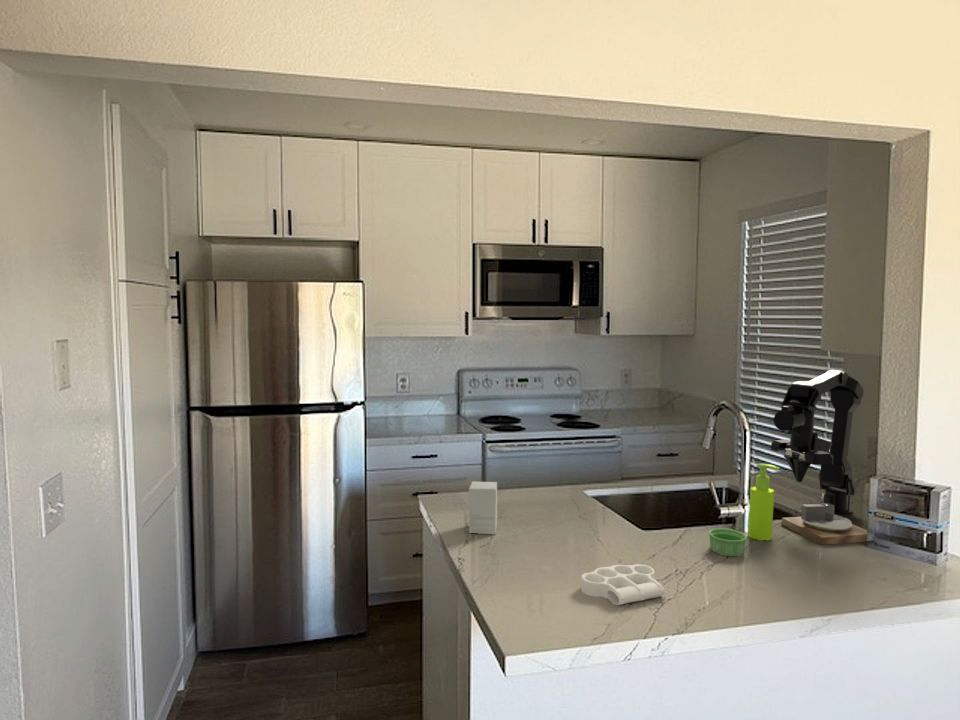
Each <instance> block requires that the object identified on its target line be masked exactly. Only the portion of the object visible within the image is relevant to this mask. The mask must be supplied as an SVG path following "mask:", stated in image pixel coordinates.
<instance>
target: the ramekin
mask: <svg viewBox="0 0 960 720" xmlns="http://www.w3.org/2000/svg"><path fill="white" fill-rule="evenodd" d="M708 536H709V545H710V550H711V551H712V552H713V551H714V552H713V553H715V552H716V553H715V554H717V553H718V555H720V554H722V555H721V556H724V555H728V556H727V557H739V555H740V556H742V555H744V552H745V546H746V542H747V539H748V537H747V535H746V534H745V533H744V532H741V531H739V530H736V529H729V528H723V527H722V528H713V529H711V530H709V531H708Z"/></svg>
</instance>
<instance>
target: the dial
mask: <svg viewBox="0 0 960 720" xmlns="http://www.w3.org/2000/svg"><path fill="white" fill-rule="evenodd" d="M800 517H801V519H803V523H804V524H805V525H807V526H809V527H812V528H815V529H819V530H824V531H831V532H846V531H849V530H851V527H852V524H853V523H852V520H850V519H849V518H847V517H844V516H842V515H840V514H834V505H832V504H828V503H824V502H822V503H816V504H815V503H814V504H813V503H812V504H811V503H807V504H804V503H803V504H801V515H800Z"/></svg>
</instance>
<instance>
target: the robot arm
mask: <svg viewBox="0 0 960 720" xmlns="http://www.w3.org/2000/svg"><path fill="white" fill-rule="evenodd" d="M864 391H865V390H864V388H863V386H862V385H861V384H860V382H859V381H858V380H857V379H854V378H853V377H851V376H850V375H849V374H848V373H847V372H845V371H844V370H838V369H837V370H836V369H835V370H834V369H830V370H829V369H828V370H827V371H826V372H825V373H823V374H821V375H819V376H817V377H815V378H812V379H810V380H798V381H794V382H792V383H791V384H790V386H789V387H788V388H787V390H786V393H785V396H784V398H783V401H782V402H781V407H780V409H781V410H778V411H777V412H776V413H775V415H774V416H773V424H774V426H775V428H777V429H778V431H781V432H786V433H787V434H790V438H789V439H778V440H777V439H774V440H773V441H772V442H771V445H770V450H771V451H774V452H776V453H777V452H779V451H781V450H785V454H784V455H783V458H785V459H786V462H787V464H788V466H789V467H790V470H791V472H792V474H793V476H794V479H795V481H796V482H797V483H801V482H803V480H804V477H805V476H806V473H807V471H808V470H809V467H810V466H811V465H814V466H816V465H817V466H819V465H820V470H819V473H818V481H819V482H818V483H819V487H820V490H825V491H824V492H825V493H824V495H823V503H828V504H832V505H834V514H835V515H844V514H845V515H846V514H853V513H854V511H853V510H851V509H850V503H851V501H850V500H851V496H855V494H856V492H857V487H858V486H857V485H858V484H857V483H856V481H855V480H854V477H853V468H852V467H851V465H850V463H849V461H848V454H849V447H850V438H851V431H852V422H853V415H854V412H855V411H856V410H857V409H858V408H859V406H860V405H861V404H862V403H861V402H862V399H863V397H864V393H865V392H864ZM827 392H828V393H829V396H830V398H829V399H830V403H831V406H832V407H833V408H834V414H833V421H832V422H833V424H832V431H831V439H830V441H828V440H825V439H822V438H820V437H819V435H818V432H817V431H814V429H815V411H816V412H817V411H818V407H817V403H818V402H819V401H821V400H822V395H823V394H825V393H827Z"/></svg>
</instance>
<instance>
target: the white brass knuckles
mask: <svg viewBox="0 0 960 720" xmlns="http://www.w3.org/2000/svg"><path fill="white" fill-rule="evenodd" d="M655 573H656V572H655V569H654V568H653V567H651V566H649V565H646V564H643V563H636V564H630V565H628V564H626V565H625V564H613V565H610V566H607V567H605V566H601V567H597V568H595V570H594V571H591V572H584V573H582V575H581V576H580V577H581V578H580V591H581V592H582V593H583V594H584V595H586V596H590V597H595V598H605V599H608V600H609V601H610V603H612V604H613V605H615V606H620V605H624V604H630V603H634V602H641V601H644V600H649V599H650V600H651V599H655V598H661V597H664V596H666V590H665V588H664V586H663V585H662V584H661V583H660V582H659V581H658V580H656V579H655V575H656V574H655Z"/></svg>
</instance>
